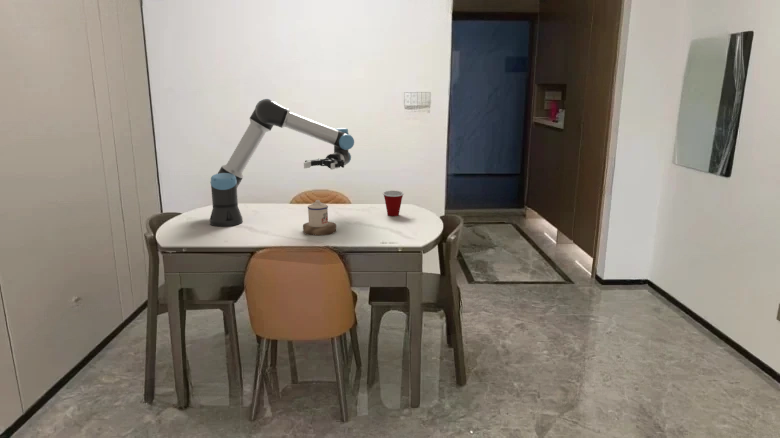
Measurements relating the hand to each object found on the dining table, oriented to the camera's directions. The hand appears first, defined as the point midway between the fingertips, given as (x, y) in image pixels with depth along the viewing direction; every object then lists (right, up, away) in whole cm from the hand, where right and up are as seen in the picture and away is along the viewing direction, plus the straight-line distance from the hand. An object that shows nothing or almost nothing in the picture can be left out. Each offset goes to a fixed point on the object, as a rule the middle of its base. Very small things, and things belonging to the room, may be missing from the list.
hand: (317, 166), depth 253 cm
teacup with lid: (+2, -28, -8) cm, 29 cm away
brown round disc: (+2, -30, -7) cm, 31 cm away
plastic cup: (+35, -23, +25) cm, 49 cm away
